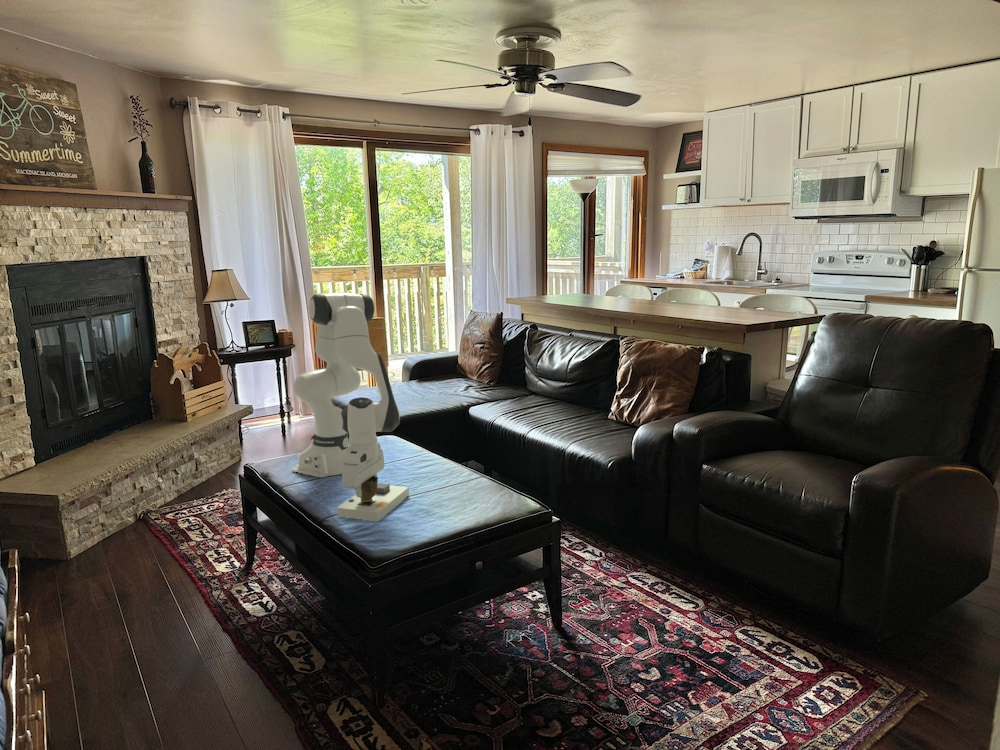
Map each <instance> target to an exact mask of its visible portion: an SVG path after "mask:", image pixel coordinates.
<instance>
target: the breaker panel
mask: <svg viewBox="0 0 1000 750" xmlns="http://www.w3.org/2000/svg"><path fill="white" fill-rule="evenodd" d="M409 491H410V489H409V486H402V485H392V484H390V491H389V492H387V493H386V494H385V495H382V494H375V496H373V497H372V500H374V501H375V502H374V503H373V504H372V505H371V506H362V505H358V504H359V503H360V502H361V498H360V497H357V496H356V494H354V495H352V496H351V497H350V498H348V499H347V500H346V501H344V502H343V503H342V504H340V505H339V506H338V507H337V508H336V511H337V517H338V516H339V518H345V517H348V518H347V519H352V518H355V520H360V519H361V520H360V521H369V522H375V523H376V522H380V521H381V520H382V519H383V518H384V517H385V516H387V515H388V514H389V513H390V512H392V511H393V510H394V509H395V508H396V507H397V506H399V505H400V504H401V503H402V502H403V501H405V500H406V499H407V498H408V497H410V492H409ZM407 496H408V497H407ZM406 497H407V498H406ZM405 498H406V499H405ZM387 513H388V514H387Z"/></svg>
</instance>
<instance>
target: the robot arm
mask: <svg viewBox="0 0 1000 750" xmlns="http://www.w3.org/2000/svg"><path fill="white" fill-rule="evenodd" d="M373 300H374V299H373V298H372V297H371V296H370V295H368V294H365V293H354V292H330V293H329V292H328V293H324V292H321V293H316V294H313V295H312V297H311V298H310V300H309V304H308V314H309V316H310V320H311V321H312V322H314V323H315V324H317V328H316V337H315V349H314V350H315V355H316V356H317V357H318V358H319V359H320V360H322V361H323V362H325V363H326V367H325V368H321V369H320V368H319V369H315V370H309V371H305V372H303V373H301V374H299V375H297V377H296V378H295V380H294V383H293V389H294V394H295V395H296V396H297V398H298V399H300V400H301V401H302V402H304V403H306V404H307V405H308V407H309V408H310V409H311V411H312V413H313V417H314V425H315V432H316V433H315V434H313V436H310V437H309V440H310V441H312V443H311V444H310V445H309V446H308V447H306V449H304V450H303V451H302V452H301V453H300V455H299V457H298V463H297V464H295V465H294V466H293V468H292V472H293V473H296V472H298V474H301V473H302V475H306V476H310V475H311V476H312V477H316V478H326V477H330V476H338V475H341V477H342V485H343V487H344V488H345V489H351V490H354V491H355V495H356V496H357V497H362V496H363V490H361V484H362V483H364V482H365V481H366V480H368V479H369V478H371V477H372V476H374V475H375V477H376V476H377V477H378V473H379V472H382V470H384V469H385V463H386V462H385V455H384V451H383V449H382V448H381V447H382V445H381V444H380V443H379V442H378V437H377V434H376V433H377V432H378V433H379V432H381V433H383V432H384V433H387V432H388V433H389V432H390V433H392V432H393V431H394V430H395V429H396V428H397V427H398V426H399V425H400V421H401V414H400V410H399V407H398V405H397V403H396V399H395V397H394V394H393V389H392V385H391V383H390V378H389V376H388V372H387V368H386V365H385V362H384V359H383V358H382V356H381V354H380V353H378V352H376V351H375V350H374V348H373V346H372V344H371V340H370V333H369V331H370V330H369V326H368V323H370V322H371V321H372V320H373V319H374V315H375V303H374V301H373ZM358 369H359V370H362V371H365V372H367V373H369V374H371V376H373V377H374V379H375V382H376V387H377V391H378V393H379V397H380V400H379V401H373V400H372V399H370V398H368V397H356V398H353V399H351V400H350V401H348V405H346V406H345V407H344V408H343V409H342V408H341V407H338V406H336V405H334V404H333V401H332V398H334V397H340V396H344V395H348V394H350V393H353V392H355V391H357V390H358V389H359V388H360V385H361V381H362V380H361V375H360V372H359V371H358ZM311 476H310V477H311Z"/></svg>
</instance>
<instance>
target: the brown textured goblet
mask: <svg viewBox="0 0 1000 750" xmlns="http://www.w3.org/2000/svg"><path fill="white" fill-rule="evenodd" d="M378 479H379V477H378V475H377V476H376V477H375V475H374V476H372V477H371V478H369V479H368V480H366V481H365V482H364V483H362V484H361V490H363V496H362V497H360V498H361V502H362V503H370V502H372V497H373V496H375V494H376V491H377V484H378V483H379V482H378V481H379V480H378Z"/></svg>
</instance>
